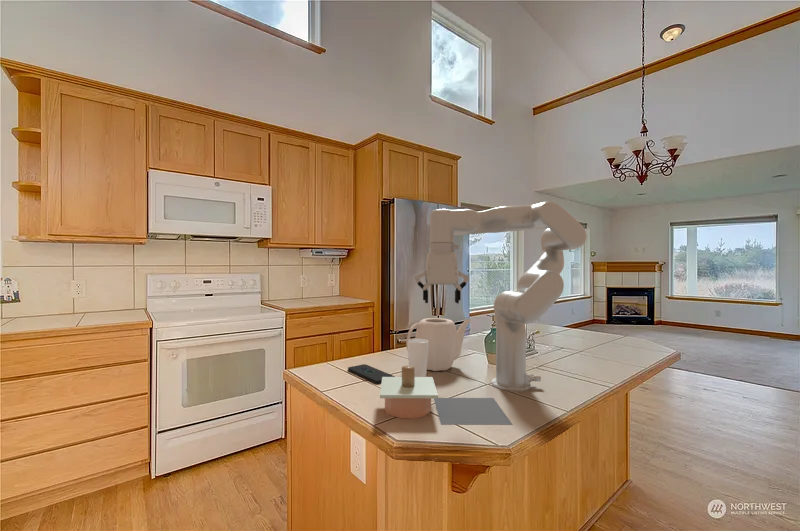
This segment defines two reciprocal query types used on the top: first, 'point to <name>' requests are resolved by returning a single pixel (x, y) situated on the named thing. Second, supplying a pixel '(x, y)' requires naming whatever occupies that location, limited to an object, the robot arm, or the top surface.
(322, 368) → the top surface
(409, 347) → the drinking glass
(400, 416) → the bowl
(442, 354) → the watering can
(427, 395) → the cover sheet
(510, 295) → the robot arm
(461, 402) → the mat
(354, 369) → the smart home device
